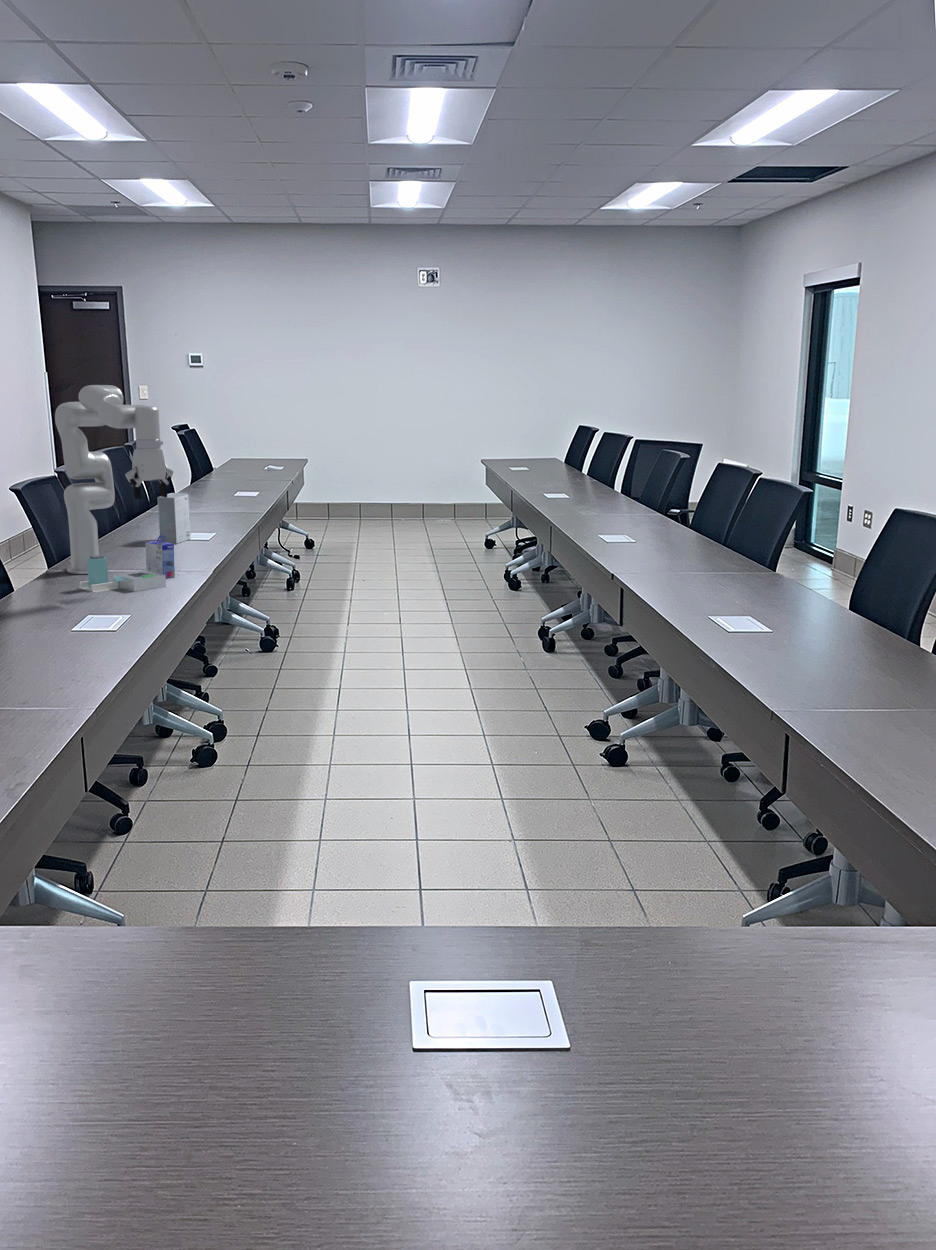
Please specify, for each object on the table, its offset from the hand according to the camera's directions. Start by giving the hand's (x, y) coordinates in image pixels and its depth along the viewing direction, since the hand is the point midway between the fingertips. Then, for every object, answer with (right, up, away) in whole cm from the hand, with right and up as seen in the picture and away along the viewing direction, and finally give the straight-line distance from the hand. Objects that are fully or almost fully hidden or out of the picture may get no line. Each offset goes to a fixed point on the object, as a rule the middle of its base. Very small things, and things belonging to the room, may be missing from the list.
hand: (151, 497), depth 343 cm
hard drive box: (-21, -6, +106) cm, 108 cm away
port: (-6, -30, +7) cm, 31 cm away
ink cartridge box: (-5, -25, +30) cm, 39 cm away
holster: (-18, -30, +3) cm, 36 cm away
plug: (-18, -29, +3) cm, 35 cm away
